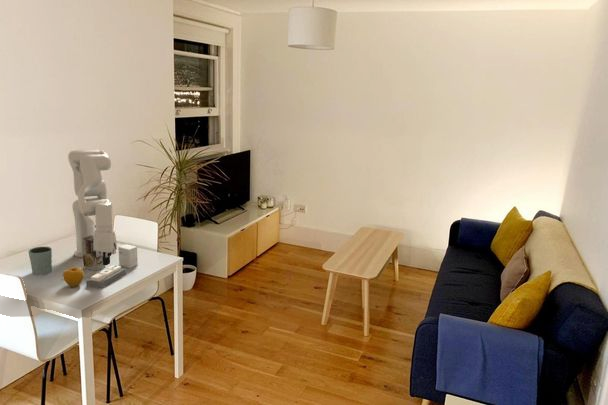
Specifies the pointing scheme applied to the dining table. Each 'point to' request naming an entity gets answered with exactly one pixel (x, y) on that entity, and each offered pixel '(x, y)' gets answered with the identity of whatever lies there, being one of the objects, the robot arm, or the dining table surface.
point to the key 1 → (98, 277)
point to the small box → (128, 256)
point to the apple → (73, 276)
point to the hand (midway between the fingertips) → (106, 264)
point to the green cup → (41, 260)
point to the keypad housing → (106, 279)
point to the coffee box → (91, 255)
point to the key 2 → (114, 268)
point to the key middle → (107, 272)
